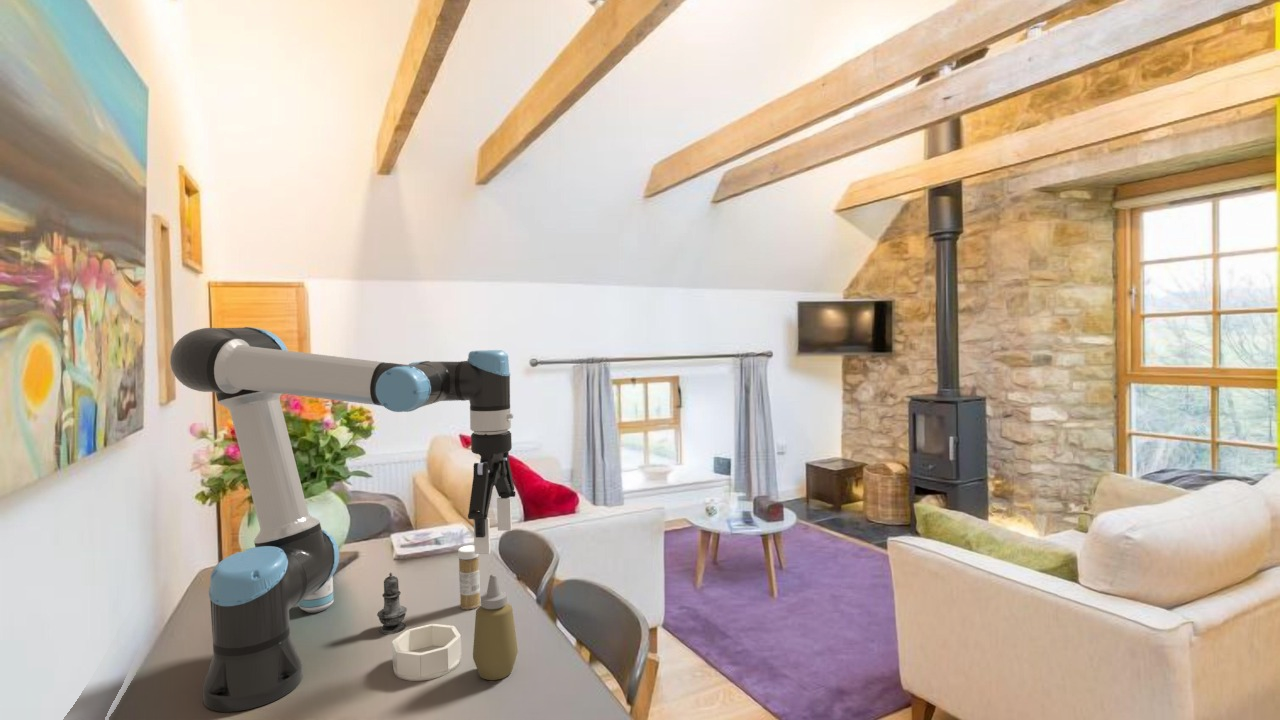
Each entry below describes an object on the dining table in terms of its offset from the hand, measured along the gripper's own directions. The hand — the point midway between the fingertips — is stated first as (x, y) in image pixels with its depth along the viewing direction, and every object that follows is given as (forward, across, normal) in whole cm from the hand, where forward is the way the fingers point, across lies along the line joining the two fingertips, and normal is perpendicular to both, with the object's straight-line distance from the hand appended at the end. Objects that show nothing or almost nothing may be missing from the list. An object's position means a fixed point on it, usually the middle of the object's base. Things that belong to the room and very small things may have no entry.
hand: (494, 541), depth 124 cm
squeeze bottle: (+22, -7, -2) cm, 23 cm away
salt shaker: (+22, +9, +26) cm, 35 cm away
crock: (+22, -5, +12) cm, 26 cm away
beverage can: (+22, +18, +48) cm, 56 cm away
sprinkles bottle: (+22, +21, +13) cm, 33 cm away
